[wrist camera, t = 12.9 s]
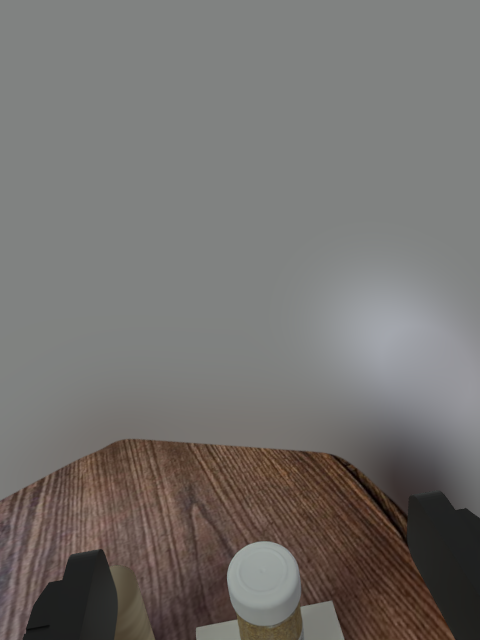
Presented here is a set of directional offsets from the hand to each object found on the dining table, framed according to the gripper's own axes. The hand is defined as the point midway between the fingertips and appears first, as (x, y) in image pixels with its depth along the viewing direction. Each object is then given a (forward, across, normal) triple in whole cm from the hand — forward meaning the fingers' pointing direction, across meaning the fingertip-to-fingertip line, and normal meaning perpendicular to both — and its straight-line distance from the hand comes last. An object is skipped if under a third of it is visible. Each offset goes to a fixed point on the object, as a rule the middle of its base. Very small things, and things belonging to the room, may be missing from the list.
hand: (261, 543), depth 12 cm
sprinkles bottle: (+11, 0, +29) cm, 31 cm away
